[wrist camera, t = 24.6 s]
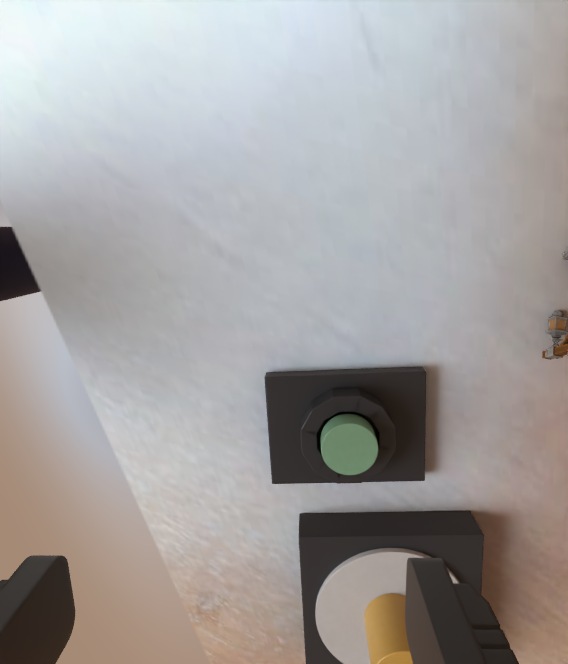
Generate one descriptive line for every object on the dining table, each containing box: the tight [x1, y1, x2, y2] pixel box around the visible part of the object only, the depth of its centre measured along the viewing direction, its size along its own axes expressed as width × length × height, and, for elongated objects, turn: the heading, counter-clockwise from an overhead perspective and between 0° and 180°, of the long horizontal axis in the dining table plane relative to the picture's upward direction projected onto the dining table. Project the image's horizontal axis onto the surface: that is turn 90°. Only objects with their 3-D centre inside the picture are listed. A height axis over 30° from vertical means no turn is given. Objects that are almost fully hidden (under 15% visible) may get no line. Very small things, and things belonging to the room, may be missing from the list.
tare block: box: [265, 367, 426, 484], centre depth 34 cm, size 12×9×3 cm
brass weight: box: [364, 594, 413, 664], centre depth 33 cm, size 4×4×6 cm
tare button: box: [321, 414, 378, 475], centre depth 33 cm, size 4×4×2 cm
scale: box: [299, 511, 484, 664], centre depth 37 cm, size 14×14×4 cm
